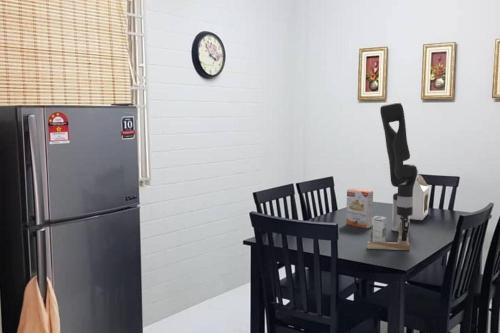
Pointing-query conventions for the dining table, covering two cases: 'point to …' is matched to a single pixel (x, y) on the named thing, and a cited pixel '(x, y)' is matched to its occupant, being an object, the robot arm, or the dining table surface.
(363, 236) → the dining table surface
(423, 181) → the gable box
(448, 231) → the dining table surface
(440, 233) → the dining table surface
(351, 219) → the cracker box
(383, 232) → the syrup box
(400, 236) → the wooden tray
